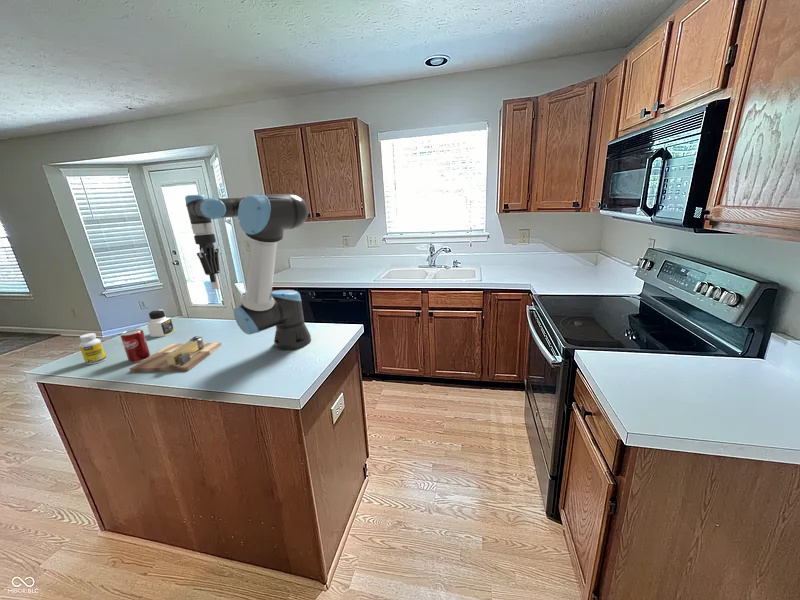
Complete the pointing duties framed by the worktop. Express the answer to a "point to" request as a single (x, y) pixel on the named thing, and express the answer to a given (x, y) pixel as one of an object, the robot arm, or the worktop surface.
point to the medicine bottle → (159, 324)
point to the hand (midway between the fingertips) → (216, 288)
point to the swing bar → (185, 350)
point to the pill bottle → (92, 349)
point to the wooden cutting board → (185, 361)
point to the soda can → (135, 345)
